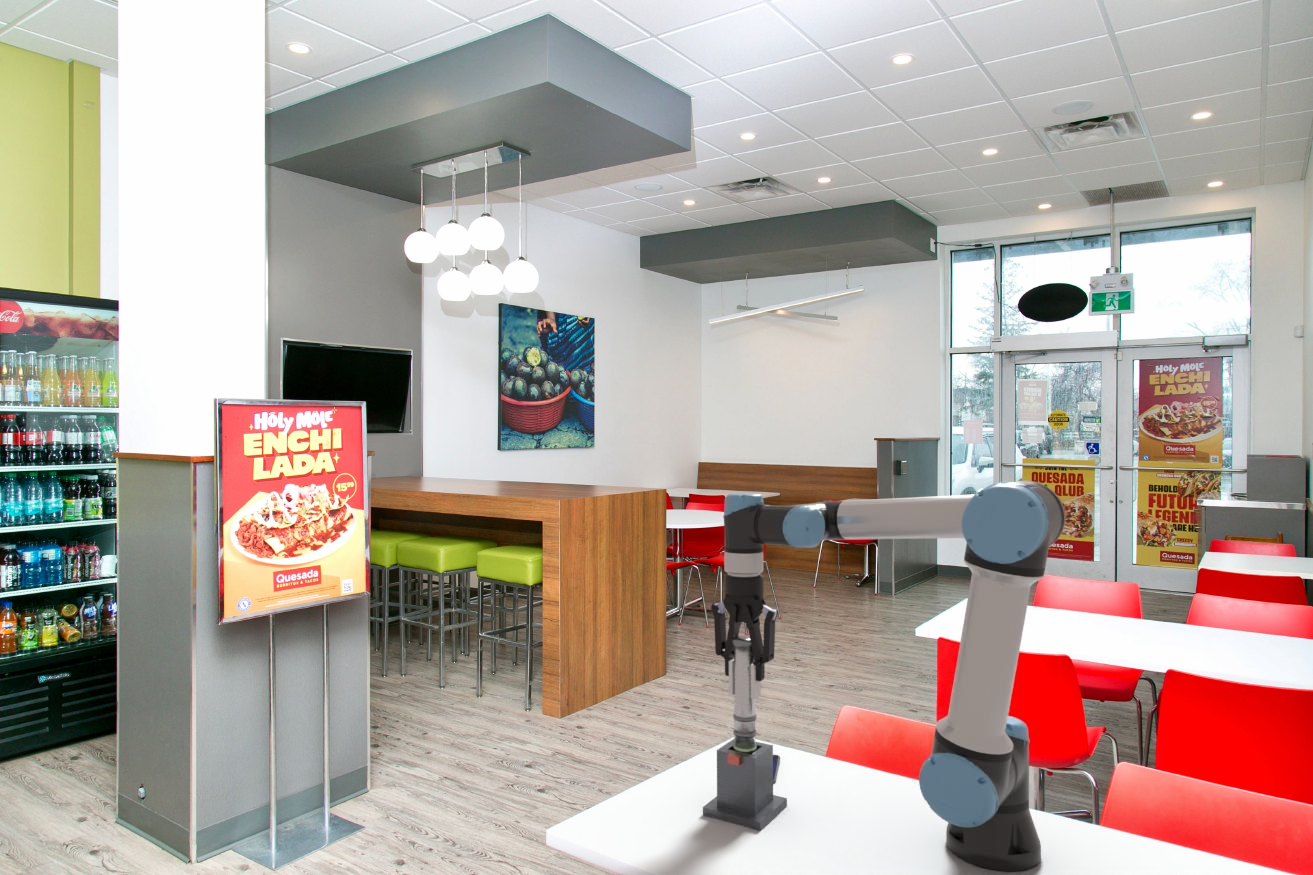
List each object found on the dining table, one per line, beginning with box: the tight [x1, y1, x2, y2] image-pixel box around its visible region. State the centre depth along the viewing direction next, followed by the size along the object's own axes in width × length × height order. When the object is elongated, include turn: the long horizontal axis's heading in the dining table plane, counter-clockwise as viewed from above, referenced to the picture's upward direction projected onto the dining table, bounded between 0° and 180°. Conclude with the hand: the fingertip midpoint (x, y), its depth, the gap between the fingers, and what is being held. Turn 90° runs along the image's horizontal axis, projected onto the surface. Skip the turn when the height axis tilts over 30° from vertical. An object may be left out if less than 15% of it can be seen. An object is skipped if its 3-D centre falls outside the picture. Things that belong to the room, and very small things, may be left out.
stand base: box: [702, 737, 788, 832], centre depth 156 cm, size 12×12×12 cm
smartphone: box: [773, 754, 781, 785], centre depth 176 cm, size 7×1×15 cm
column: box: [732, 635, 757, 754], centre depth 156 cm, size 5×5×23 cm
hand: (744, 694), depth 156 cm, fingers closed on column, 4 cm apart
